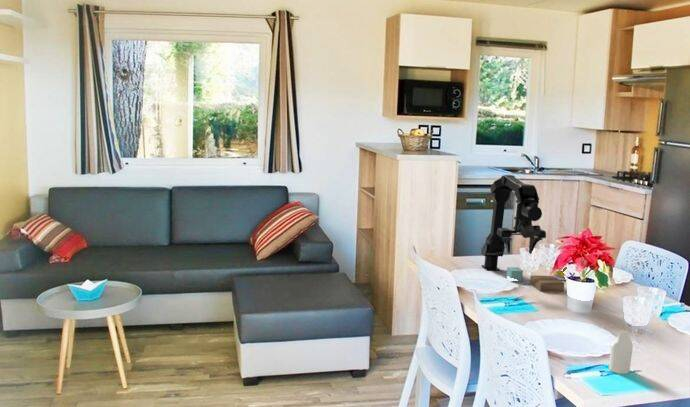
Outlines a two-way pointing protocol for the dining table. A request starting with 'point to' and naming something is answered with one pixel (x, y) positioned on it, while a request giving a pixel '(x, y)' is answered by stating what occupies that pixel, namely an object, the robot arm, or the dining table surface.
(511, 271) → the teal cube
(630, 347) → the beige bottle
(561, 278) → the supplement bottle
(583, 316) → the dining table surface
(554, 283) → the walnut block
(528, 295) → the dining table surface
